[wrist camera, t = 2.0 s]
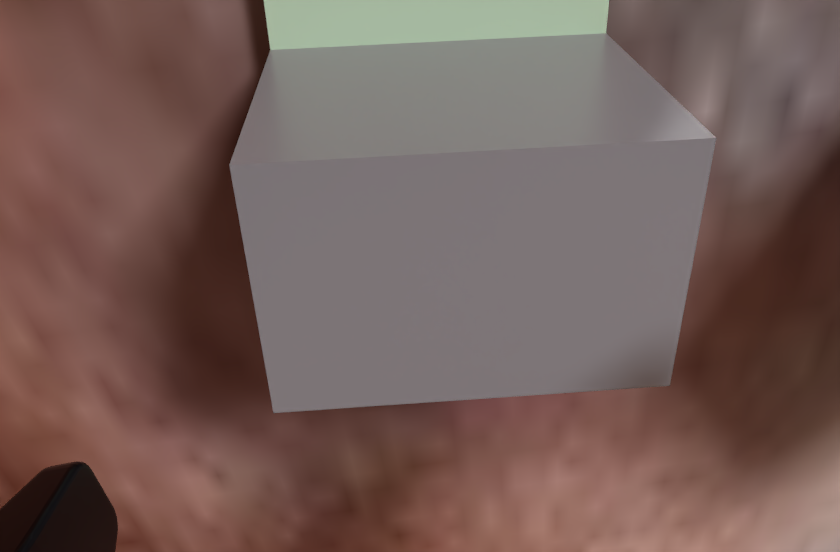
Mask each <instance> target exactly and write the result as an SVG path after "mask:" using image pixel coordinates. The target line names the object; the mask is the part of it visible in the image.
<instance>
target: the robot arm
mask: <svg viewBox="0 0 840 552" xmlns="http://www.w3.org/2000/svg"><path fill="white" fill-rule="evenodd" d="M117 531H118V524H117V516H116V513H115V510H114V508H113V506H112V504H111V502H110V501H109V499H108V497H107V496H106V494H105V492H104V490H103V489H102V487H101V485H100V483H99V482H98V480H97V478H96V477H95V475H94V473H93V471H92V470H91V469H90V467H89V466H88V465H87V464H85V463H83V462H71V463H66V464H60V465H55V466H50V467H47V468H45V469H43V470H42V471H41V472H39V473H38V474H37V475H36V476H35V477H34V478H33V479H32V480H31V481H30V482H29V483H28V484H27V485H25V486H24V487H23V488H22V489H21V490H20V491H19V492H18V493H17V494H16V495H15V496H14V497H13V498H12V499H11V500H9V501H8V502H7V503H6V504H5V505H4V506H3V507H2V508H1V509H0V552H115V549H116V541H117Z"/></svg>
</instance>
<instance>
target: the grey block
mask: <svg viewBox="0 0 840 552" xmlns="http://www.w3.org/2000/svg"><path fill="white" fill-rule="evenodd" d="M608 6H609V0H264V7H265V14H266V22H267V29H268V36H269V44H270V52H269V55H268V58H267V61H266V63H265V66H264V69H263V72H262V75H261V77H260V80H259V83H258V86H257V89H256V91H255V94H254V97H253V100H252V103H251V106H250V108H249V111H248V114H247V117H246V120H245V122H244V125H243V128H242V131H241V134H240V136H239V139H238V142H237V145H236V148H235V150H234V153H233V156H232V159H231V162H230V164H229V166H230V172H231V178H232V183H233V189H234V194H235V200H236V206H237V211H238V217H239V223H240V228H241V234H242V239H243V245H244V251H245V256H246V262H247V267H248V273H249V279H250V284H251V290H252V295H253V301H254V307H255V312H256V318H257V323H258V329H259V335H260V340H261V346H262V352H263V357H264V363H265V368H266V374H267V380H268V385H269V391H270V396H271V402H272V408H273V413H281V412H296V411H310V410H325V409H339V408H354V407H368V406H383V405H397V404H412V403H426V402H441V401H455V400H470V399H484V398H499V397H513V396H528V395H542V394H557V393H571V392H586V391H600V390H615V389H629V388H644V387H659V386H670V382H671V377H672V371H673V366H674V361H675V355H676V350H677V345H678V339H679V334H680V329H681V323H682V318H683V313H684V307H685V302H686V297H687V291H688V286H689V281H690V275H691V270H692V265H693V259H694V254H695V249H696V243H697V238H698V232H699V227H700V222H701V216H702V211H703V206H704V200H705V195H706V190H707V184H708V179H709V174H710V168H711V163H712V158H713V152H714V147H715V142H716V137H715V136H714V135H713V134H712V133H710V132H709V131H708V130H707V129H706V128H705V127H704V126H703V125H702V124H701V123H700V122H699V121H698V120H697V119H696V118H695V117H694V116H693V115H692V114H690V113H689V112H688V111H687V110H686V109H685V108H684V107H683V106H682V105H681V104H680V103H679V102H678V101H677V100H676V99H675V98H674V97H673V96H671V95H670V94H669V93H668V92H667V91H666V90H665V89H664V88H663V87H662V86H661V85H660V84H659V83H658V82H657V81H656V80H655V79H654V78H653V77H651V76H650V75H649V74H648V73H647V72H646V71H645V70H644V69H643V68H642V67H641V66H640V65H639V64H638V63H637V62H636V61H635V60H634V59H632V58H631V57H630V56H629V55H628V54H627V53H626V52H625V51H624V50H623V49H622V48H621V47H620V46H619V45H618V44H617V43H616V42H615V41H614V40H612V39H611V38H610V37H609V36H608V35H607V34H606V27H607V17H608Z"/></svg>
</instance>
